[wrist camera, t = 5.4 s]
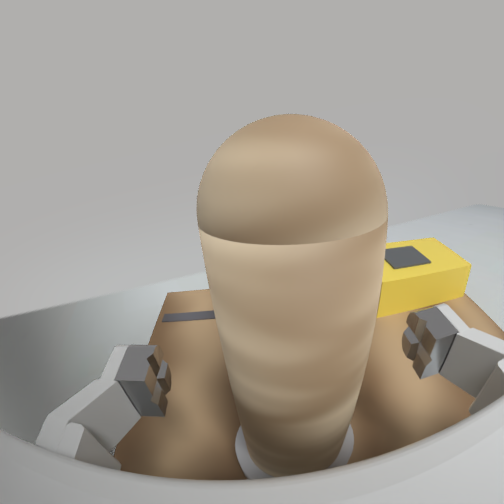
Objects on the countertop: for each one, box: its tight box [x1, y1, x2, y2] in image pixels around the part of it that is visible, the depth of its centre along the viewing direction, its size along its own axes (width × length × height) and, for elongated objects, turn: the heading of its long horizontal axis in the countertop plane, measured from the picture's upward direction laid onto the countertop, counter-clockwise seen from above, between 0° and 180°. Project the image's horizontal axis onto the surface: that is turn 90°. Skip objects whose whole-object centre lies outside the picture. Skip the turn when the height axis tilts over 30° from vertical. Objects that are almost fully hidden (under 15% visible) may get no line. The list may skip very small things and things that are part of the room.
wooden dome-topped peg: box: [197, 114, 388, 479], centre depth 8 cm, size 5×5×13 cm
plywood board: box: [114, 289, 504, 480], centre depth 16 cm, size 26×20×2 cm
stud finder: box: [377, 238, 471, 318], centre depth 20 cm, size 9×6×3 cm, turn 93°
